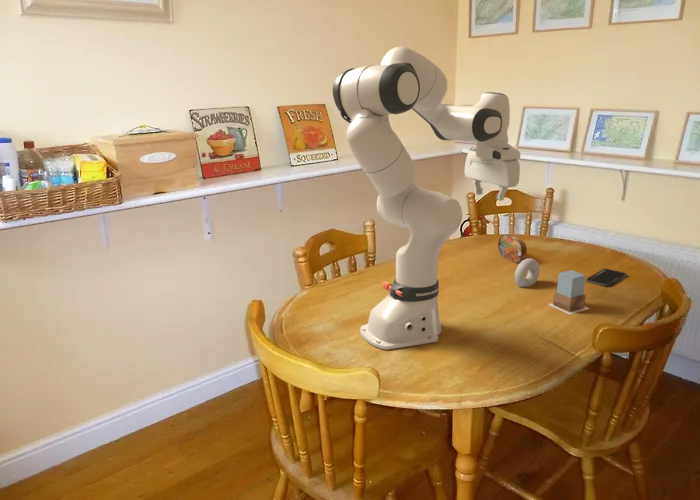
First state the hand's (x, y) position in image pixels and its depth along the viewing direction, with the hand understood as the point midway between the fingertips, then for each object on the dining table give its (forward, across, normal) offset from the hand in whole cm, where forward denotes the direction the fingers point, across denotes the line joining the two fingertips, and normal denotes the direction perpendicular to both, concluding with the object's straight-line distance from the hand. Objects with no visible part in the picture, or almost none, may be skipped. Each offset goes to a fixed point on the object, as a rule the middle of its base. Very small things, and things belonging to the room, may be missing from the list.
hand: (488, 197), depth 165 cm
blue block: (+26, +22, +13) cm, 36 cm away
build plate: (+31, +22, +13) cm, 40 cm away
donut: (+31, +3, +15) cm, 35 cm away
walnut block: (+30, +22, +13) cm, 39 cm away
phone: (+32, +10, +44) cm, 55 cm away
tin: (+31, -21, +31) cm, 49 cm away
